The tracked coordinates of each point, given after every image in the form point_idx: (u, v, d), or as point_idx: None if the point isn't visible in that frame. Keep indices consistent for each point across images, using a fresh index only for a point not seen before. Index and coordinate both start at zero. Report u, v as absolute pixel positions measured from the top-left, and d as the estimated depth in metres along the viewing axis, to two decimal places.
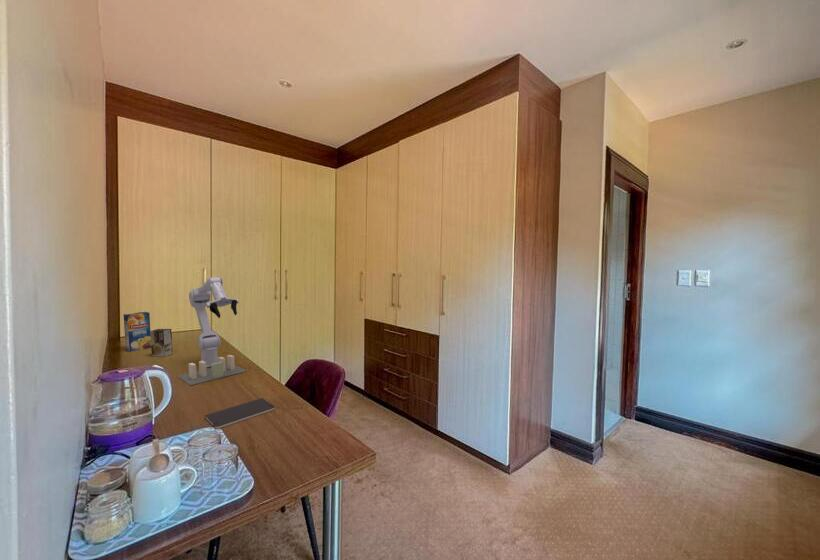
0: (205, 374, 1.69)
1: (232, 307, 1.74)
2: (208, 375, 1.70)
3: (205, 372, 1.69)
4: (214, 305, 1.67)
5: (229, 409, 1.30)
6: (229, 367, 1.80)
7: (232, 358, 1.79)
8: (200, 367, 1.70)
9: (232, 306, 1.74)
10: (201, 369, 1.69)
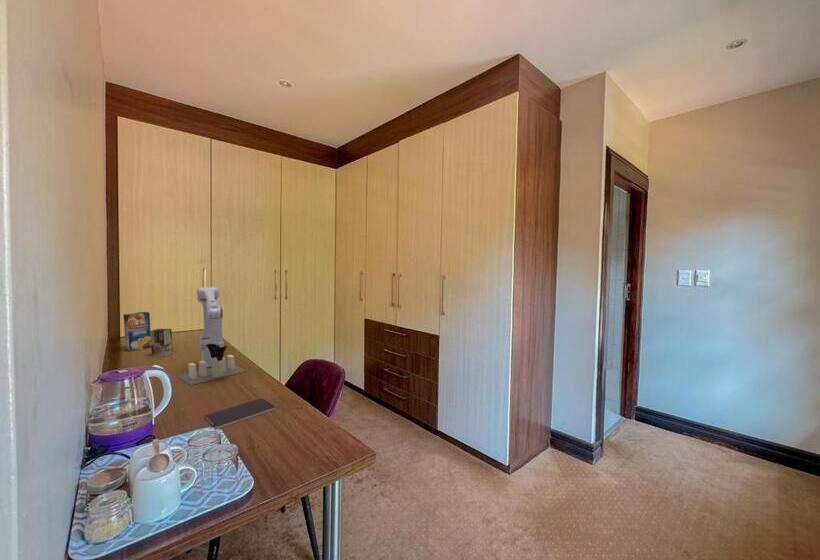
0: (205, 374, 1.69)
1: None
2: (208, 375, 1.70)
3: (205, 372, 1.69)
4: (207, 347, 1.69)
5: (229, 409, 1.30)
6: (229, 367, 1.80)
7: (232, 358, 1.79)
8: (200, 367, 1.70)
9: None
10: (201, 369, 1.69)
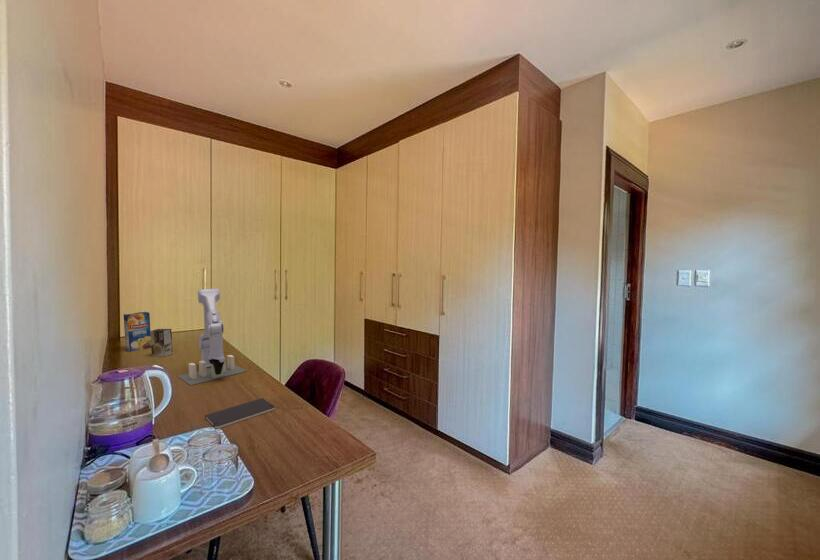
0: (205, 374, 1.69)
1: None
2: (208, 375, 1.70)
3: (205, 372, 1.69)
4: (210, 362, 1.67)
5: (229, 409, 1.30)
6: (229, 367, 1.80)
7: (232, 358, 1.79)
8: (200, 367, 1.70)
9: None
10: (201, 369, 1.69)
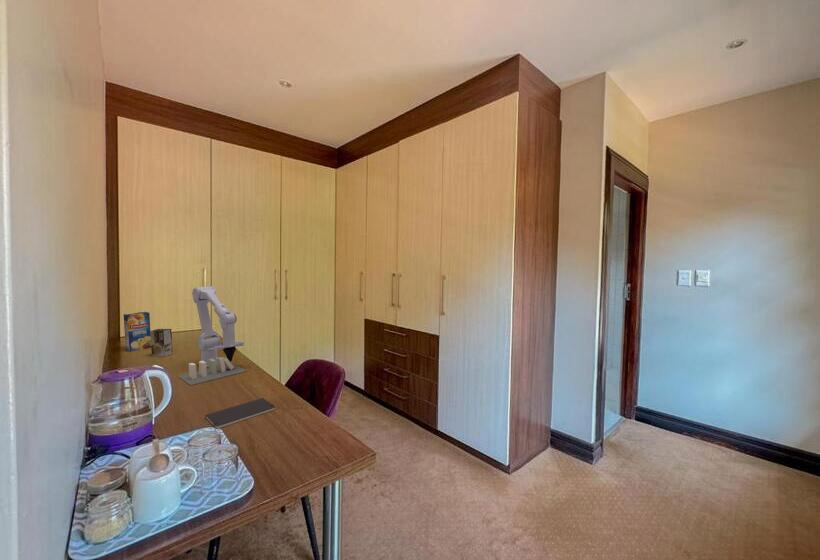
0: (205, 374, 1.69)
1: None
2: (208, 375, 1.70)
3: (205, 372, 1.69)
4: (228, 352, 1.77)
5: (229, 409, 1.30)
6: (228, 367, 1.79)
7: (226, 360, 1.76)
8: (200, 367, 1.70)
9: None
10: (201, 369, 1.69)
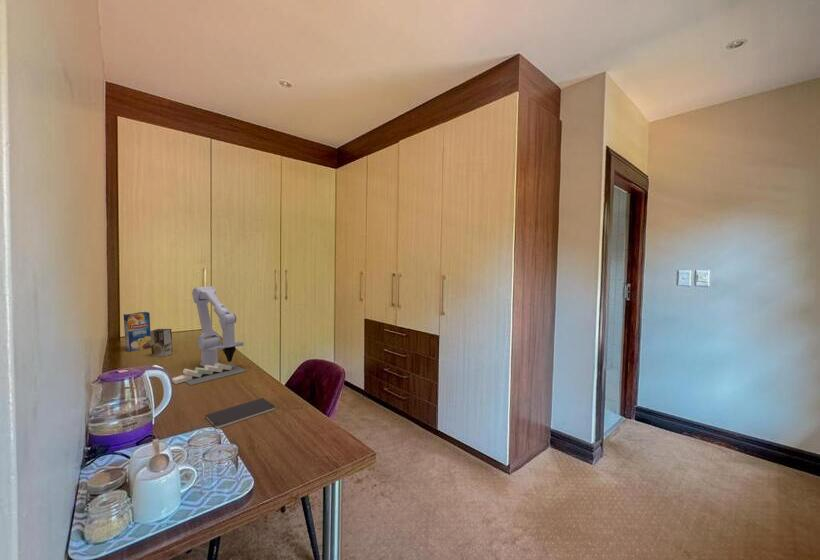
0: (199, 374, 1.67)
1: None
2: (208, 375, 1.70)
3: (197, 374, 1.66)
4: (228, 352, 1.77)
5: (230, 409, 1.30)
6: None
7: (219, 366, 1.74)
8: None
9: None
10: (192, 375, 1.66)
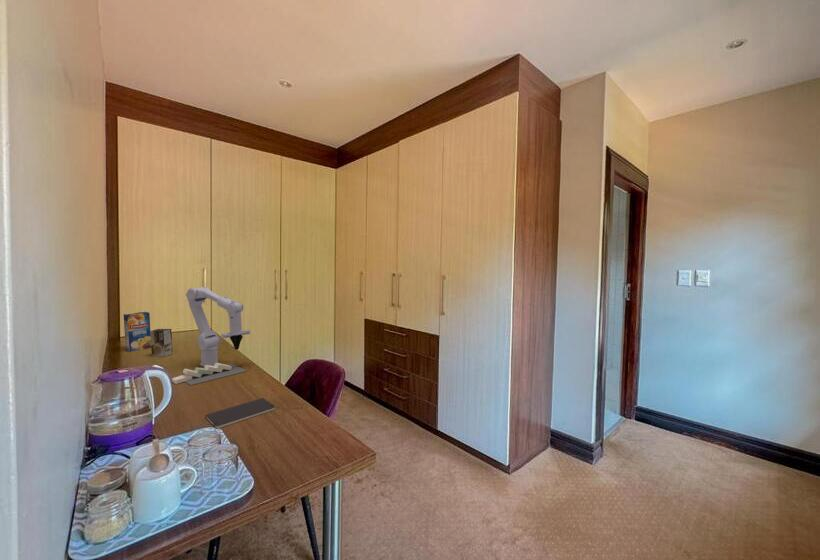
0: (199, 374, 1.67)
1: None
2: (208, 375, 1.70)
3: (197, 374, 1.66)
4: (235, 340, 1.81)
5: (230, 409, 1.30)
6: None
7: (219, 366, 1.74)
8: None
9: None
10: (192, 375, 1.66)
